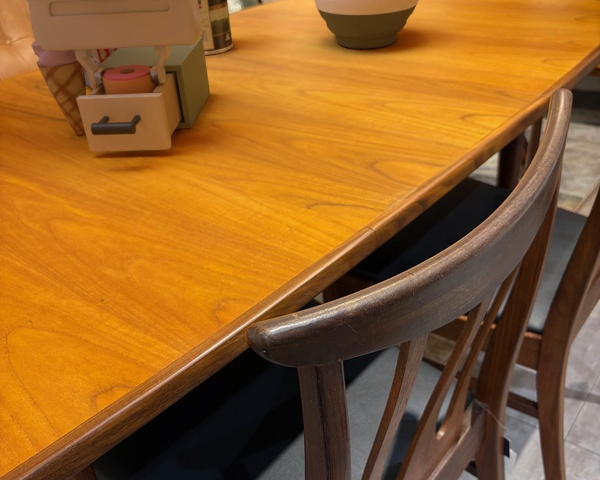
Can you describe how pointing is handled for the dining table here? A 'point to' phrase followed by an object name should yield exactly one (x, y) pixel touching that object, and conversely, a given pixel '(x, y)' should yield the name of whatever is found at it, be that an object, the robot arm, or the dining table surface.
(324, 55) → the dining table surface
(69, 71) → the ice cream cone
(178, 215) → the dining table surface
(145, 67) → the donut
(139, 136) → the drawer
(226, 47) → the coffee can
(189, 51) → the cabinet
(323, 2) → the bowl
